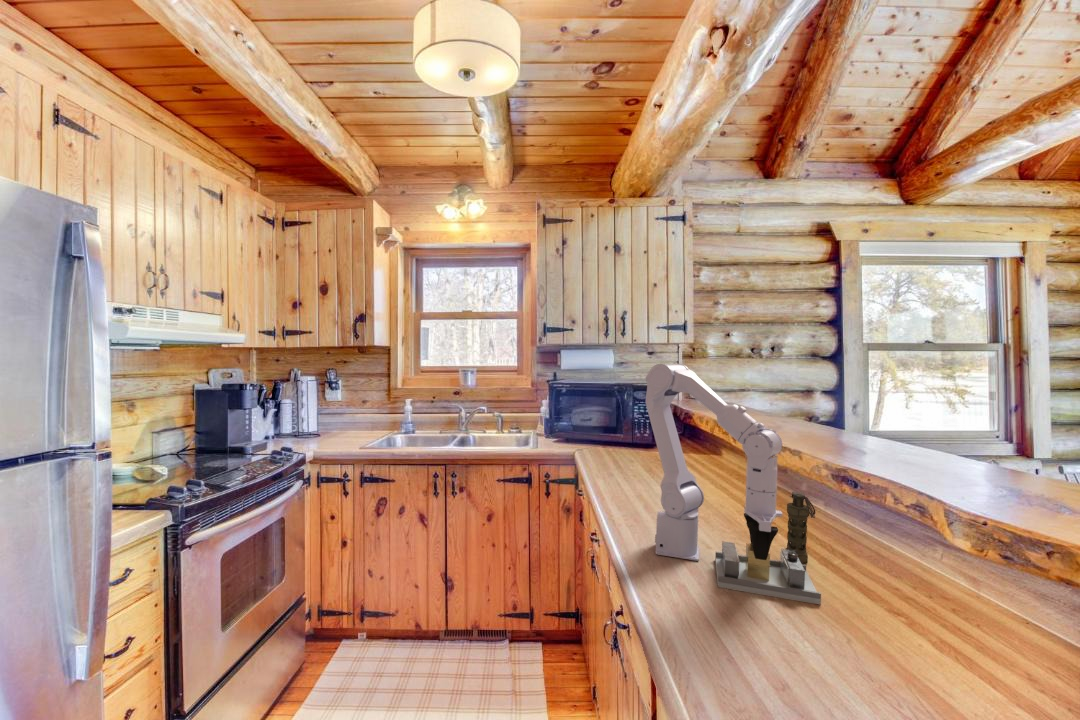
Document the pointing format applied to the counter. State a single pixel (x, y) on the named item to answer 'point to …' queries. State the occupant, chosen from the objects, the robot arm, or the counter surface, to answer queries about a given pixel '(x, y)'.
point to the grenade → (798, 524)
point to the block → (756, 565)
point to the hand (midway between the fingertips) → (759, 554)
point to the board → (767, 582)
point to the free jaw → (792, 569)
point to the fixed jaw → (730, 560)
